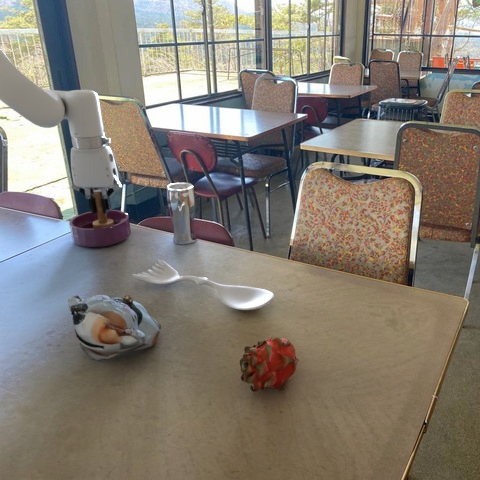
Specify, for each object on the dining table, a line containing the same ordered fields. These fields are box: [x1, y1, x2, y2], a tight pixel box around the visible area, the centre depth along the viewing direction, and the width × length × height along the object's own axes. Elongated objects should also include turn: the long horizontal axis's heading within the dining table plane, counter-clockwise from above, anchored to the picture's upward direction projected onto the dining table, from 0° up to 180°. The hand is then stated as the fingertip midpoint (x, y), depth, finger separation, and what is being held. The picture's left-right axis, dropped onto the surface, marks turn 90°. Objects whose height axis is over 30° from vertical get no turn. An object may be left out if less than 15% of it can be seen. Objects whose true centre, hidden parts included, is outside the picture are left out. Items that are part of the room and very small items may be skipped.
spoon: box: [131, 258, 275, 311], centre depth 102 cm, size 9×32×4 cm, turn 66°
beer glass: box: [166, 182, 198, 246], centre depth 125 cm, size 7×7×15 cm
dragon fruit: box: [239, 336, 299, 393], centre depth 77 cm, size 8×8×12 cm
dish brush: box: [92, 189, 114, 229], centre depth 127 cm, size 5×5×12 cm
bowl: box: [69, 209, 132, 248], centre depth 127 cm, size 14×14×6 cm
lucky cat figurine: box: [67, 294, 162, 361], centre depth 82 cm, size 15×12×14 cm
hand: (101, 211), depth 126 cm, fingers closed on dish brush
